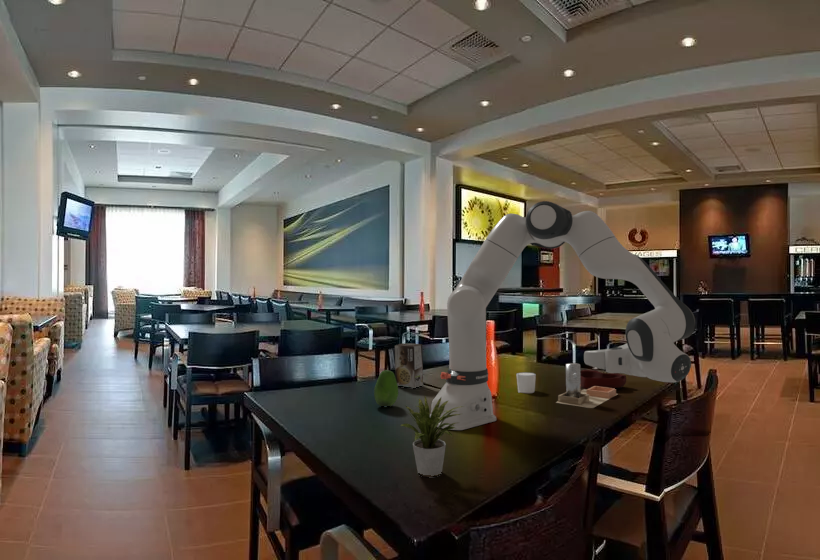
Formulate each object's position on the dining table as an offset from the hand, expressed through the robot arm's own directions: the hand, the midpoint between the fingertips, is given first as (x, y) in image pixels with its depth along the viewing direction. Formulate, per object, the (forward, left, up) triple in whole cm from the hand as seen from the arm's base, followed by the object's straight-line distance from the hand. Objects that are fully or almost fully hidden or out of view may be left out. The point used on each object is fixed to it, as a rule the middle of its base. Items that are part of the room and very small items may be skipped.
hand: (599, 352), depth 153 cm
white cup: (+10, +30, -18) cm, 36 cm away
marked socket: (+20, +7, -18) cm, 28 cm away
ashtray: (+35, +14, -19) cm, 42 cm away
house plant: (-70, +11, -18) cm, 73 cm away
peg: (+6, +11, -17) cm, 21 cm away
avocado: (-34, +57, -18) cm, 69 cm away
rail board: (+13, +9, -18) cm, 24 cm away
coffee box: (-6, +71, -18) cm, 73 cm away
